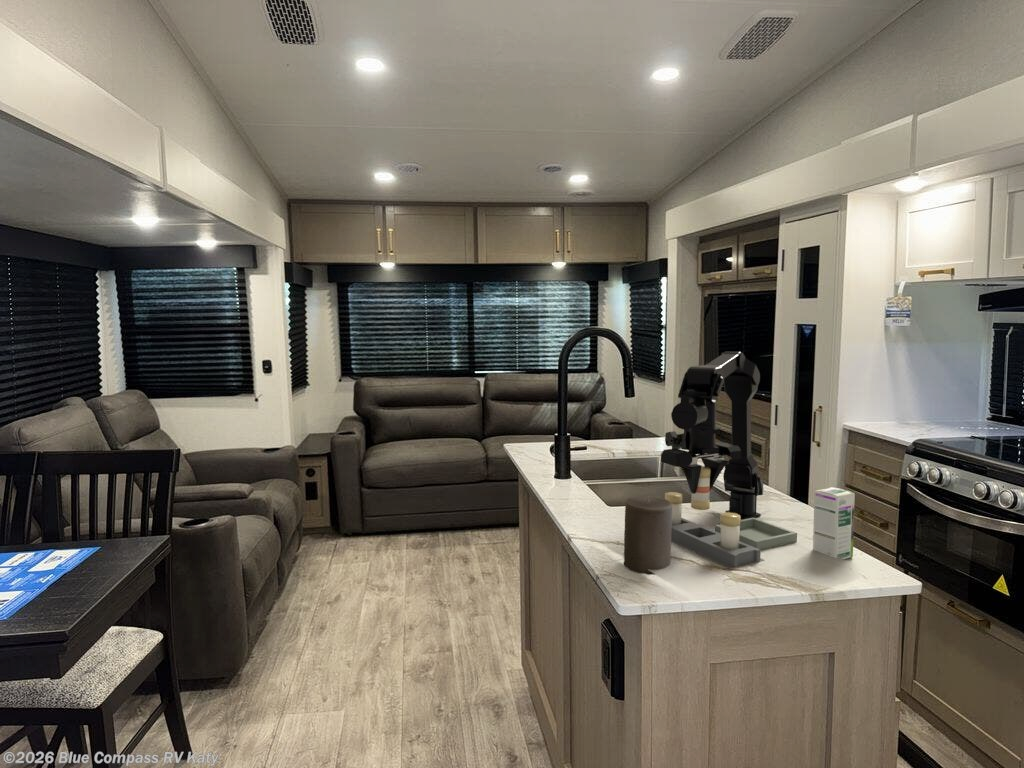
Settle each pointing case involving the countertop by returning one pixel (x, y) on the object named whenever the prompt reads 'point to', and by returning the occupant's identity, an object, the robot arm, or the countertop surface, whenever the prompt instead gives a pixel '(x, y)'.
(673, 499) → the cylinder
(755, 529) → the tray
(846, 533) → the syrup box
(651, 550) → the pillar candle
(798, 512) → the countertop surface
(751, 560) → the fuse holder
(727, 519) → the cylinder
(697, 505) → the cylinder
